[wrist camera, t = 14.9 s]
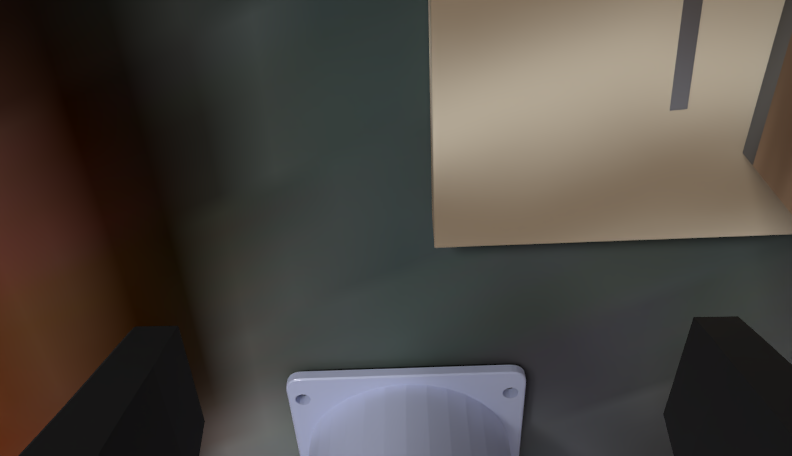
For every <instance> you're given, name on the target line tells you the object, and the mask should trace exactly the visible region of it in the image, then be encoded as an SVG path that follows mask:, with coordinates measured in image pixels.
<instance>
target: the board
mask: <svg viewBox="0 0 792 456" xmlns="http://www.w3.org/2000/svg"><path fill="white" fill-rule="evenodd" d="M784 3H785V0H428V7H429V63H430V119H431V176H432V219H433V232H434V245H435V248H439V247H465V246H492V245H519V244H545V243H572V242H599V241H626V240H652V239H679V238H706V237H732V236H759V235H786V234H792V214H791V213H790V212H789V210H788V209H787V208H786V207H785V205H784V204H783V203H782V202H781V200H780V199H779V198H778V197H777V195H776V194H775V193H774V192H773V190H772V189H771V188H770V187H769V185H768V184H767V183H766V182H765V180H764V179H763V178H762V177H761V175H760V174H759V173H758V172H757V170H756V169H755V168H754V167H753V165H752V164H751V163H750V162H749V160H748V159H747V158H746V157H745V155H744V154H743V149H744V146H745V142H746V139H747V135H748V131H749V128H750V124H751V121H752V117H753V114H754V110H755V107H756V103H757V99H758V96H759V92H760V89H761V85H762V82H763V78H764V74H765V71H766V67H767V64H768V60H769V57H770V53H771V49H772V46H773V42H774V39H775V35H776V32H777V28H778V24H779V21H780V17H781V14H782V10H783V7H784Z"/></svg>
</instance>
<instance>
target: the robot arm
mask: <svg viewBox="0 0 792 456" xmlns="http://www.w3.org/2000/svg"><path fill="white" fill-rule="evenodd" d="M507 388H512V389H507ZM525 388H526V378H525V373H524V370H523V369H522V368H521V367H519V366H517V365H482V366H452V367H422V368H391V369H361V370H331V371H301V372H295V373H293V374H291V375H290V376H289V378H288V381H287V388H286V390H287V394H288V399H289V404H290V409H291V414H292V419H293V424H294V428H295V433H296V438H297V443H298V448H299V453H300V456H519V451H520V440H521V430H522V419H523V409H524V398H525ZM301 394H303V395H301ZM304 395H306V396H304ZM664 418H665V422H666V426H667V430H668V434H669V438H670V442H671V446H672V450H673V454H674V456H792V365H791V364H790V363H789V362H788V361H787V360H786V359H785V358H784V357H783V356H782V355H780V354H779V353H778V352H777V351H776V350H775V349H774V348H773V347H772V346H771V345H769V344H768V343H767V342H766V341H765V340H764V339H763V338H762V337H761V336H759V335H758V334H757V333H756V332H755V331H754V330H753V329H752V328H750V327H749V326H748V325H747V324H746V323H745V322H744V321H742V320H741V319H740V318H739V317H694V318H693V321H692V324H691V328H690V331H689V334H688V337H687V340H686V344H685V347H684V350H683V353H682V356H681V360H680V363H679V366H678V369H677V372H676V376H675V379H674V382H673V385H672V388H671V392H670V395H669V398H668V401H667V404H666V408H665V411H664ZM204 422H205V421H204V417H203V414H202V410H201V406H200V403H199V399H198V396H197V392H196V389H195V385H194V381H193V378H192V374H191V371H190V367H189V363H188V360H187V356H186V353H185V349H184V345H183V342H182V338H181V335H180V331H179V328H178V326H149V327H134V328H133V329H132V330H131V331H130V332H129V333H128V334H127V336H126V337H125V338H124V339H123V340H122V341H121V342H120V343H119V344H118V346H117V347H116V348H115V349H114V350H113V351H112V352H111V354H110V355H109V356H108V357H107V358H106V359H105V360H104V362H103V363H102V364H101V365H100V366H99V367H98V368H97V370H96V371H95V372H94V373H93V374H92V375H91V376H90V378H89V379H88V380H87V381H86V382H85V383H84V384H83V385H82V387H81V388H80V389H79V390H78V391H77V392H76V393H75V394H74V396H73V397H72V398H71V399H70V400H69V401H68V402H67V404H66V405H65V406H64V407H63V408H62V409H61V410H60V411H59V412H58V413H57V415H56V416H55V417H54V418H53V419H52V420H51V421H50V422H49V423H48V424H47V425H46V426H45V428H44V429H43V430H42V431H41V432H40V433H39V434H38V435H37V436H36V437H35V438H34V439H33V441H32V442H31V443H30V444H29V445H28V446H27V447H26V448H25V449H24V450H23V451H22V452H21V454H20V455H19V456H199V452H200V446H201V440H202V434H203V428H204Z"/></svg>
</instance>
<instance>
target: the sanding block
mask: <svg viewBox="0 0 792 456" xmlns="http://www.w3.org/2000/svg"><path fill="white" fill-rule="evenodd" d="M743 154H744V155H745V157H746V158H747V159H748V160H749V162H750V163H751V164H752V165H753V167H754V168H755V169H756V170H757V172H758V173H759V174H760V175H761V177H762V178H763V179H764V180H765V182H766V183H767V184H768V185H769V187H770V188H771V189H772V190H773V192H774V193H775V194H776V195H777V197H778V198H779V199H780V200H781V202H782V203H783V204H784V205H785V207H786V208H787V209H788V210H789V212H790V213H791V214H792V0H785V3H784V7H783V10H782V14H781V17H780V21H779V24H778V28H777V32H776V35H775V39H774V42H773V46H772V49H771V53H770V57H769V60H768V64H767V67H766V71H765V74H764V78H763V82H762V85H761V89H760V92H759V96H758V99H757V103H756V107H755V110H754V114H753V117H752V121H751V124H750V128H749V131H748V135H747V139H746V142H745V146H744V149H743Z"/></svg>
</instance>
